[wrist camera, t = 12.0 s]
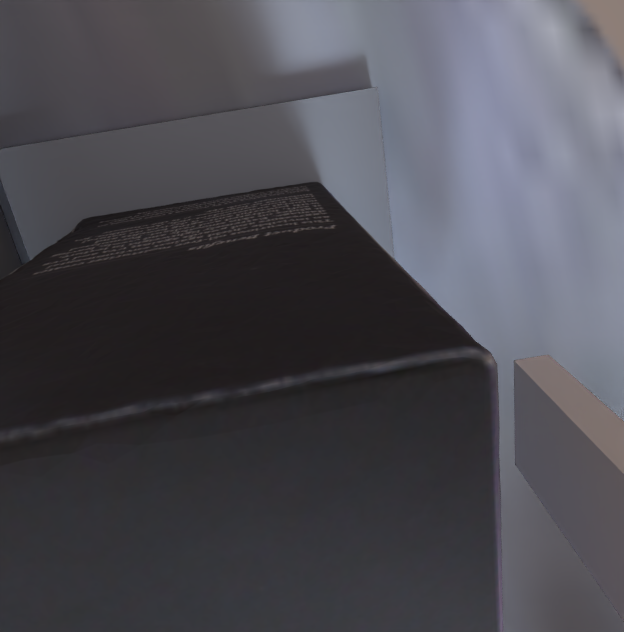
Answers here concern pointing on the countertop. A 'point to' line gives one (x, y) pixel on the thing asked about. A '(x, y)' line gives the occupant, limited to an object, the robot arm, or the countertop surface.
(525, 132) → the countertop surface
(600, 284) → the countertop surface
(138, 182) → the mat
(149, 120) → the countertop surface
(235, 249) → the small box
